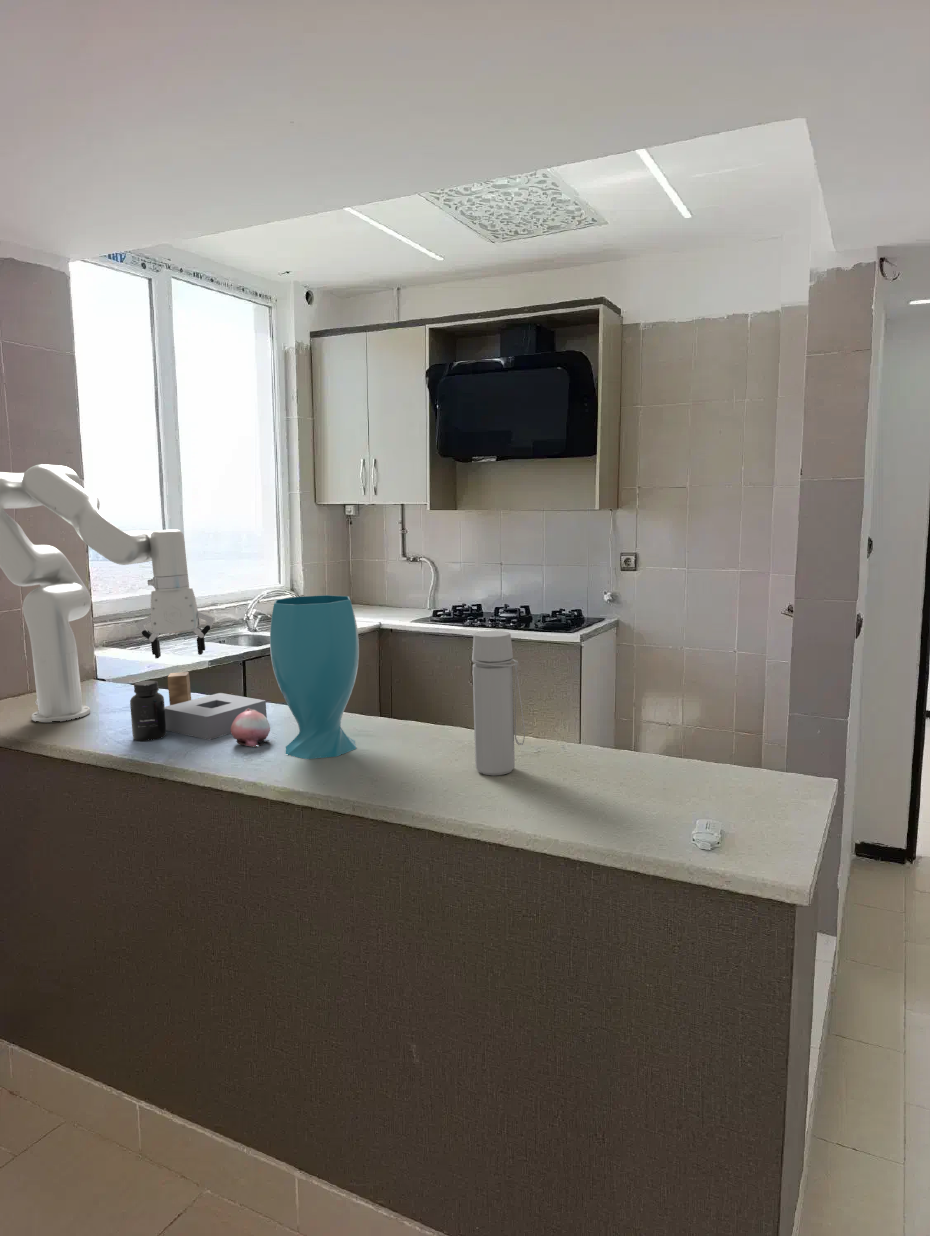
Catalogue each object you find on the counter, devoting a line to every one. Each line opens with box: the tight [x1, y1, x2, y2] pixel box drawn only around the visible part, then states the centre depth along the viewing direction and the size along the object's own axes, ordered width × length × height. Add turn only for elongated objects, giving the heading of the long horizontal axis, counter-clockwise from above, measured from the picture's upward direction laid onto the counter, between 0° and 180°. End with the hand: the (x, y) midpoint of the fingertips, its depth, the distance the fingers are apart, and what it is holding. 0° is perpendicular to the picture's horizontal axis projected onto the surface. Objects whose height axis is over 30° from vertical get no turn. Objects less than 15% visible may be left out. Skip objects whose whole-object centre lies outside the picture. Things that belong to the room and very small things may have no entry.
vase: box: [269, 594, 360, 760], centre depth 160 cm, size 17×17×30 cm
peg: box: [167, 671, 192, 706], centre depth 190 cm, size 4×4×10 cm
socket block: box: [165, 692, 268, 741], centre depth 181 cm, size 16×16×5 cm
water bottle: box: [471, 630, 526, 777], centre depth 143 cm, size 9×8×25 cm
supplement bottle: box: [129, 680, 167, 742], centre depth 173 cm, size 7×7×12 cm
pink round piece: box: [230, 708, 271, 748], centre depth 166 cm, size 8×8×7 cm
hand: (179, 655), depth 189 cm, fingers open, 9 cm apart
